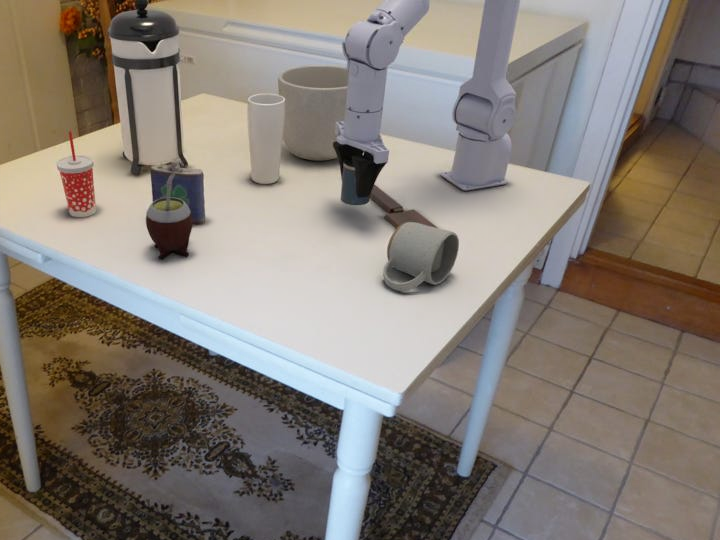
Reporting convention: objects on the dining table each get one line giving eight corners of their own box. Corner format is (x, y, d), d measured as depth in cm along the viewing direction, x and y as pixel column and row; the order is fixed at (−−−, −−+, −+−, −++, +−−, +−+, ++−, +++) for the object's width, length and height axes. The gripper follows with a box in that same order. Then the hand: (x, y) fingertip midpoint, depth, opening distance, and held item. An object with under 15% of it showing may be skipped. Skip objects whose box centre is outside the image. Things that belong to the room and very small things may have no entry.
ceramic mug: (407, 255, 106) (414, 209, 101) (455, 273, 101) (464, 226, 96) (368, 282, 100) (373, 234, 95) (416, 302, 95) (424, 253, 90)
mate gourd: (166, 237, 111) (159, 146, 102) (206, 248, 108) (203, 156, 99) (138, 256, 106) (128, 163, 97) (180, 269, 103) (173, 173, 94)
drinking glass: (279, 188, 127) (282, 105, 117) (244, 185, 128) (244, 103, 119) (285, 174, 132) (288, 94, 123) (251, 171, 133) (251, 92, 124)
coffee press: (209, 156, 139) (203, -8, 121) (161, 183, 129) (147, 7, 111) (143, 141, 147) (128, -16, 129) (93, 165, 136) (69, -3, 118)
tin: (361, 192, 118) (365, 155, 114) (374, 203, 114) (379, 165, 110) (335, 196, 116) (338, 159, 112) (348, 207, 113) (352, 169, 109)
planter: (261, 158, 138) (261, 80, 129) (300, 134, 150) (303, 60, 140) (337, 175, 131) (343, 93, 122) (371, 148, 143) (380, 71, 133)
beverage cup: (66, 204, 121) (53, 126, 113) (101, 203, 122) (90, 124, 113) (62, 220, 116) (48, 139, 108) (99, 218, 117) (87, 137, 108)
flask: (207, 219, 116) (204, 158, 110) (202, 226, 114) (198, 164, 108) (156, 213, 118) (151, 153, 112) (150, 220, 116) (144, 159, 110)
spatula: (366, 176, 130) (367, 171, 130) (440, 234, 111) (441, 228, 111) (340, 180, 129) (340, 175, 128) (410, 239, 110) (411, 234, 109)
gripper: (321, 96, 110) (315, 177, 118) (363, 124, 99) (354, 211, 108) (360, 92, 112) (352, 171, 120) (405, 119, 101) (393, 204, 109)
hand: (355, 190), depth 114 cm, fingers closed on tin, 5 cm apart
